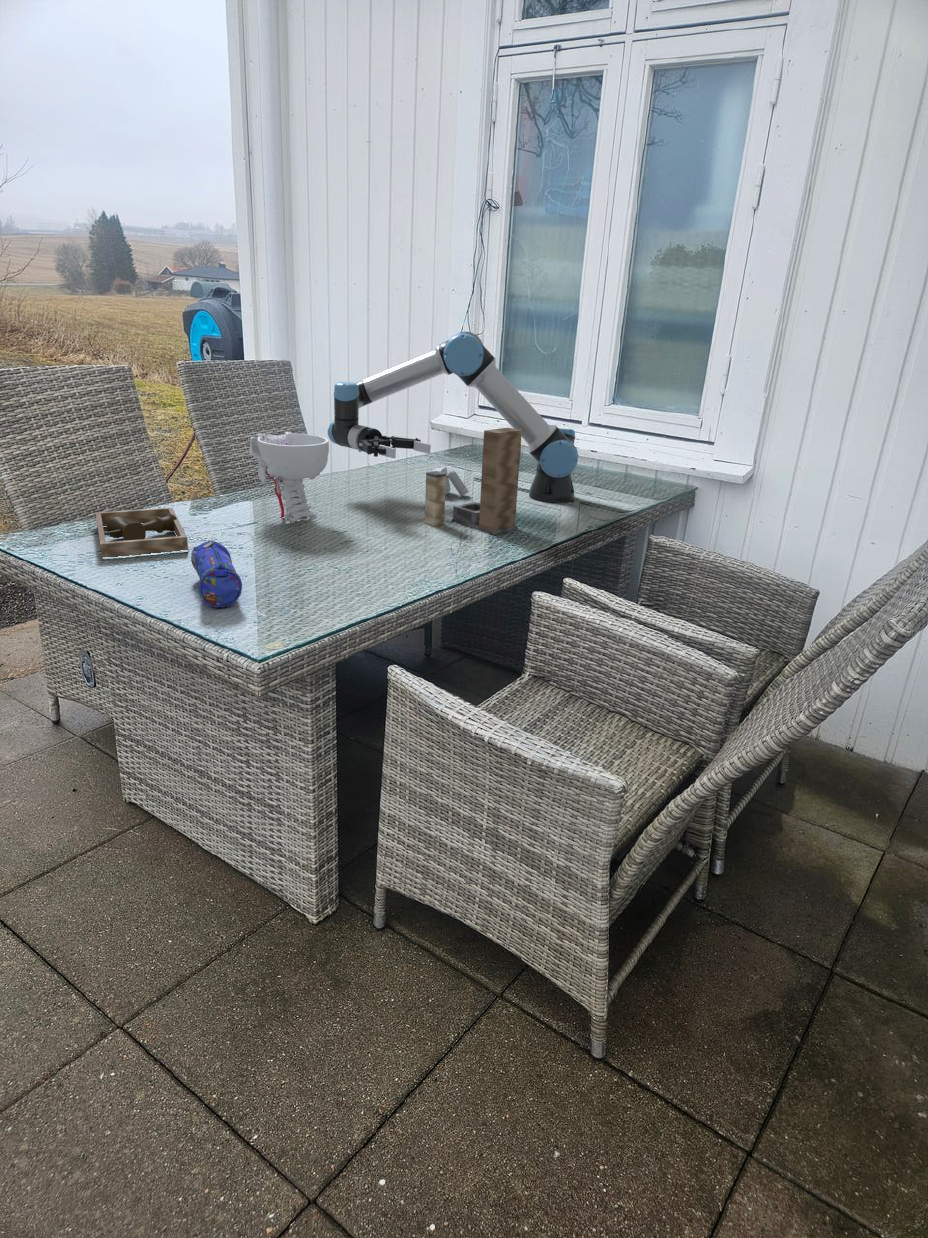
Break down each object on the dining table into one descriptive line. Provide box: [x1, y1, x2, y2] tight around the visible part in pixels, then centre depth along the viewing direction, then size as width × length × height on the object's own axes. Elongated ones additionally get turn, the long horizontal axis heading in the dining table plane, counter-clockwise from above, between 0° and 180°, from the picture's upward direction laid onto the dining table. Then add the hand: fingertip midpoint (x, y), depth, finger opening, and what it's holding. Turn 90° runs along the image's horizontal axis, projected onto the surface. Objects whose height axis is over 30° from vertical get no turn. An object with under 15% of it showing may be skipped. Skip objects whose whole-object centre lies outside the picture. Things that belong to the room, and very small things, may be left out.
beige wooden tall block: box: [424, 470, 446, 527], centre depth 223 cm, size 4×4×15 cm
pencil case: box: [190, 539, 243, 609], centre depth 167 cm, size 22×9×10 cm, turn 22°
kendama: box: [104, 513, 178, 541], centre depth 199 cm, size 6×10×20 cm
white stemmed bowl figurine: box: [248, 431, 330, 523], centre depth 220 cm, size 25×19×23 cm
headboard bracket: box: [451, 427, 522, 536], centre depth 221 cm, size 10×17×28 cm, turn 46°
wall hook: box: [431, 466, 469, 497], centre depth 257 cm, size 8×10×10 cm
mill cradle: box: [94, 506, 189, 557], centre depth 199 cm, size 19×29×4 cm, turn 26°
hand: (412, 451), depth 225 cm, fingers open, 13 cm apart
